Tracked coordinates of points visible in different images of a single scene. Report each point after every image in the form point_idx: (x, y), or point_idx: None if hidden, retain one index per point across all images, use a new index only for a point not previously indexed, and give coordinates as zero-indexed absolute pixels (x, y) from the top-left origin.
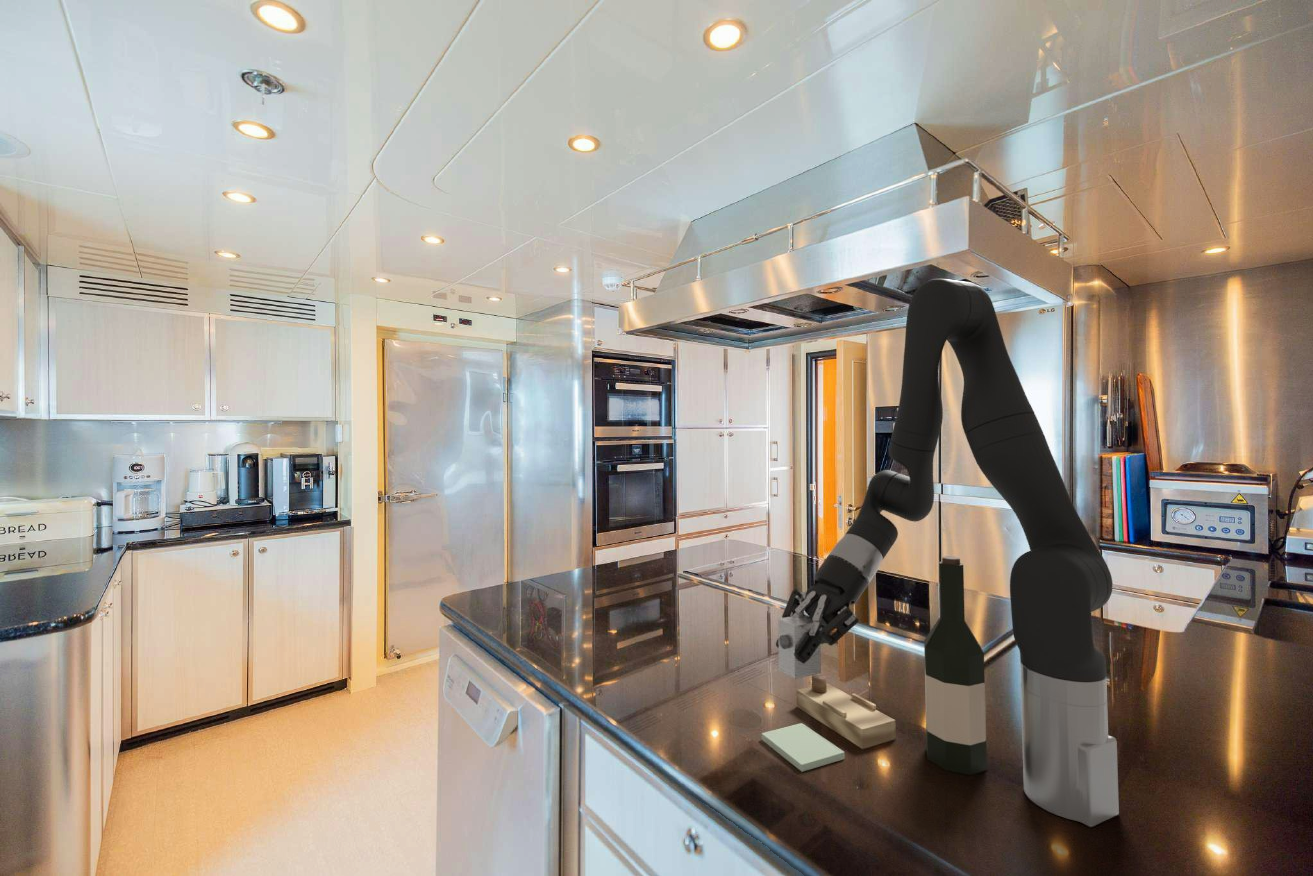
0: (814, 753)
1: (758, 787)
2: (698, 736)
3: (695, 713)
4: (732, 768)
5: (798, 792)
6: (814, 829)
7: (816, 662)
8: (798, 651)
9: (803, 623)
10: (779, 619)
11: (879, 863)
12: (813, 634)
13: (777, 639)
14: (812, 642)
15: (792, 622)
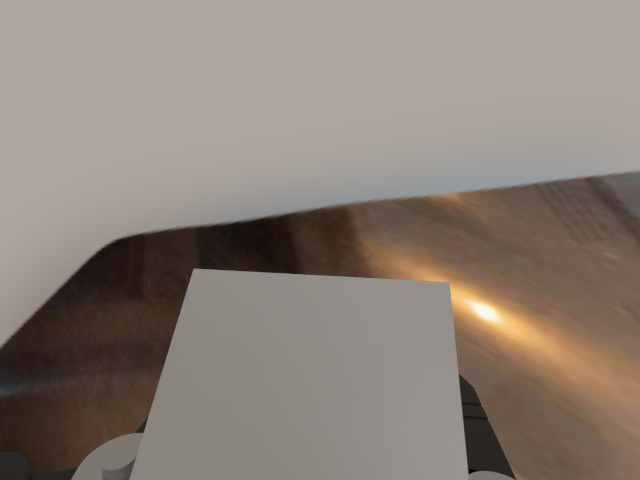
0: None
1: (276, 272)
2: (482, 274)
3: (600, 325)
4: (346, 267)
5: None
6: (149, 278)
7: None
8: None
9: (181, 409)
10: (430, 285)
11: (45, 306)
12: (105, 444)
13: (472, 387)
14: (142, 429)
15: (277, 324)
